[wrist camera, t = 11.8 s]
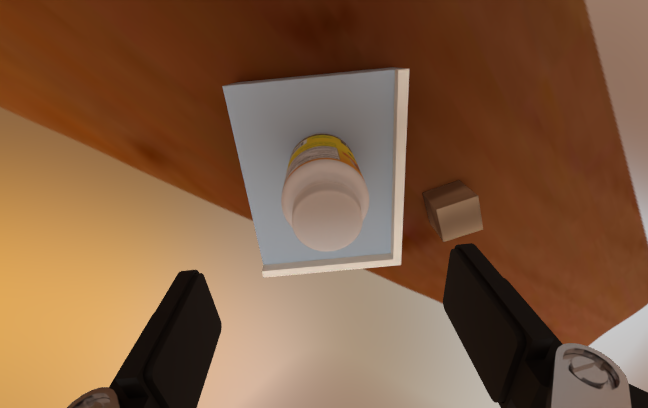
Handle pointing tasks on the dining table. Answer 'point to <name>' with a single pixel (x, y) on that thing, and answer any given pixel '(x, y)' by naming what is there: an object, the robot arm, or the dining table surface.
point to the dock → (336, 119)
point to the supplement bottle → (324, 193)
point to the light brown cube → (453, 210)
